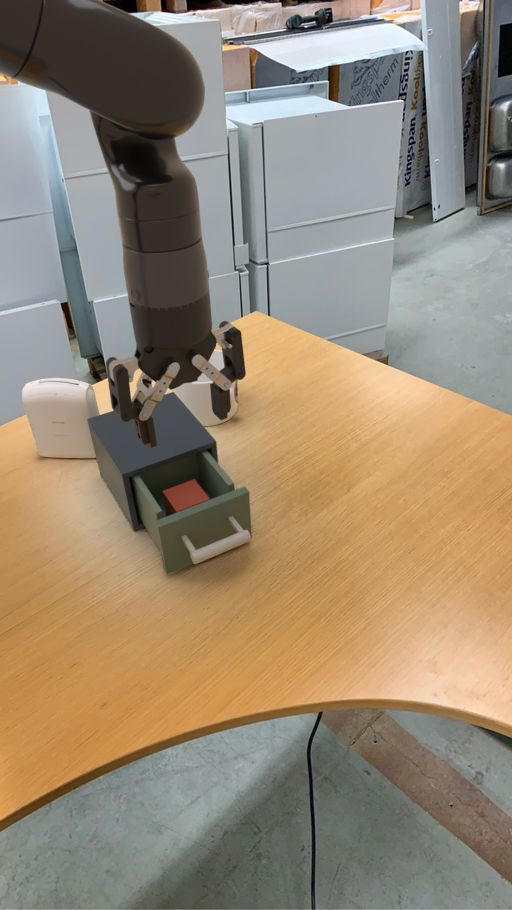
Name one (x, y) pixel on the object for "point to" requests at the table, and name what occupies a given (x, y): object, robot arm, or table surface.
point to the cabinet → (145, 448)
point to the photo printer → (61, 416)
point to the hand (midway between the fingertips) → (185, 429)
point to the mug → (206, 395)
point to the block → (183, 497)
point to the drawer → (192, 511)
